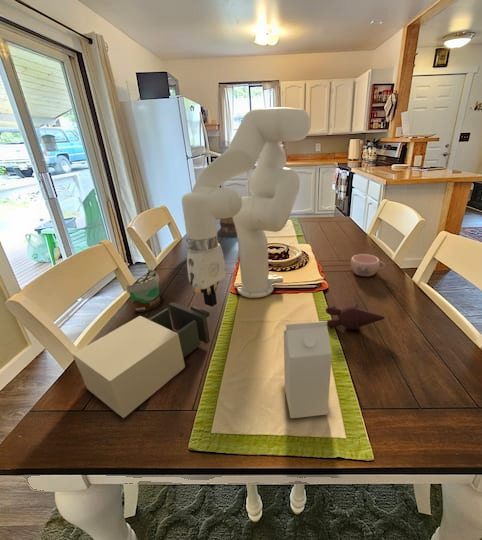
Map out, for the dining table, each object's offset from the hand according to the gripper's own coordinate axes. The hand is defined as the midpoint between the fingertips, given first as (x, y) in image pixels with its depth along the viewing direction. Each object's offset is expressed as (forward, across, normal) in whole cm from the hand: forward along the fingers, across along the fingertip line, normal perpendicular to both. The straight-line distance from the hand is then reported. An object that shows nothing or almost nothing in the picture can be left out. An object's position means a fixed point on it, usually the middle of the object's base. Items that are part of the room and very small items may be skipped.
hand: (210, 304), depth 81 cm
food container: (+6, -3, +23) cm, 24 cm away
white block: (+6, -25, 0) cm, 26 cm away
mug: (+5, +52, -29) cm, 60 cm away
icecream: (+6, +18, -35) cm, 40 cm away
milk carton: (+6, -11, -35) cm, 37 cm away
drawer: (+5, -13, 0) cm, 14 cm away
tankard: (+5, +70, +46) cm, 84 cm away
